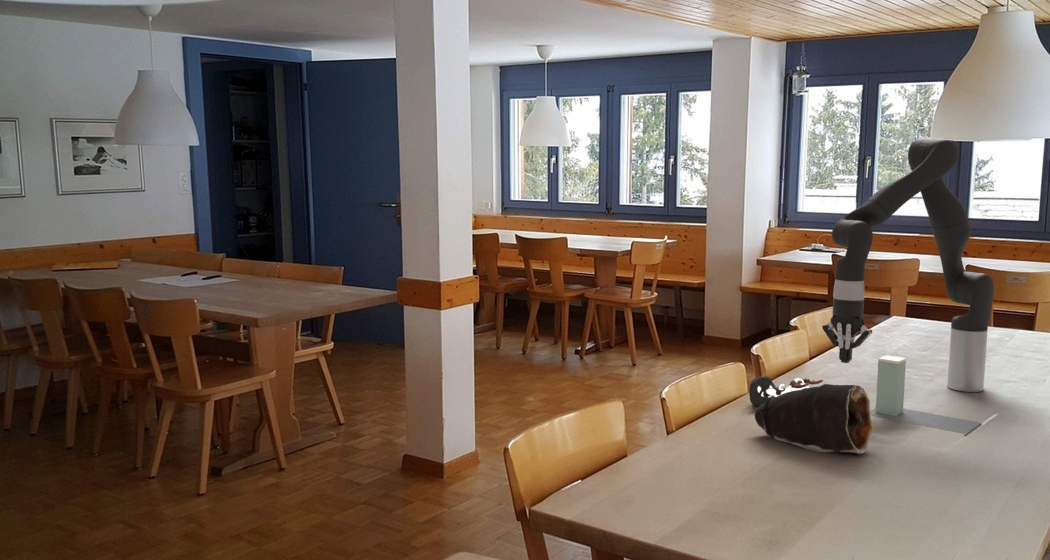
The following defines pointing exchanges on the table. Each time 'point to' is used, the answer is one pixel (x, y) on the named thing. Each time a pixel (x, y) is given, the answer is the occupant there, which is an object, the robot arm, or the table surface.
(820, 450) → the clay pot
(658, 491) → the table surface
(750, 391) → the figurine
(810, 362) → the table surface
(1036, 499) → the table surface
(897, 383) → the sage block
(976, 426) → the slate mat
